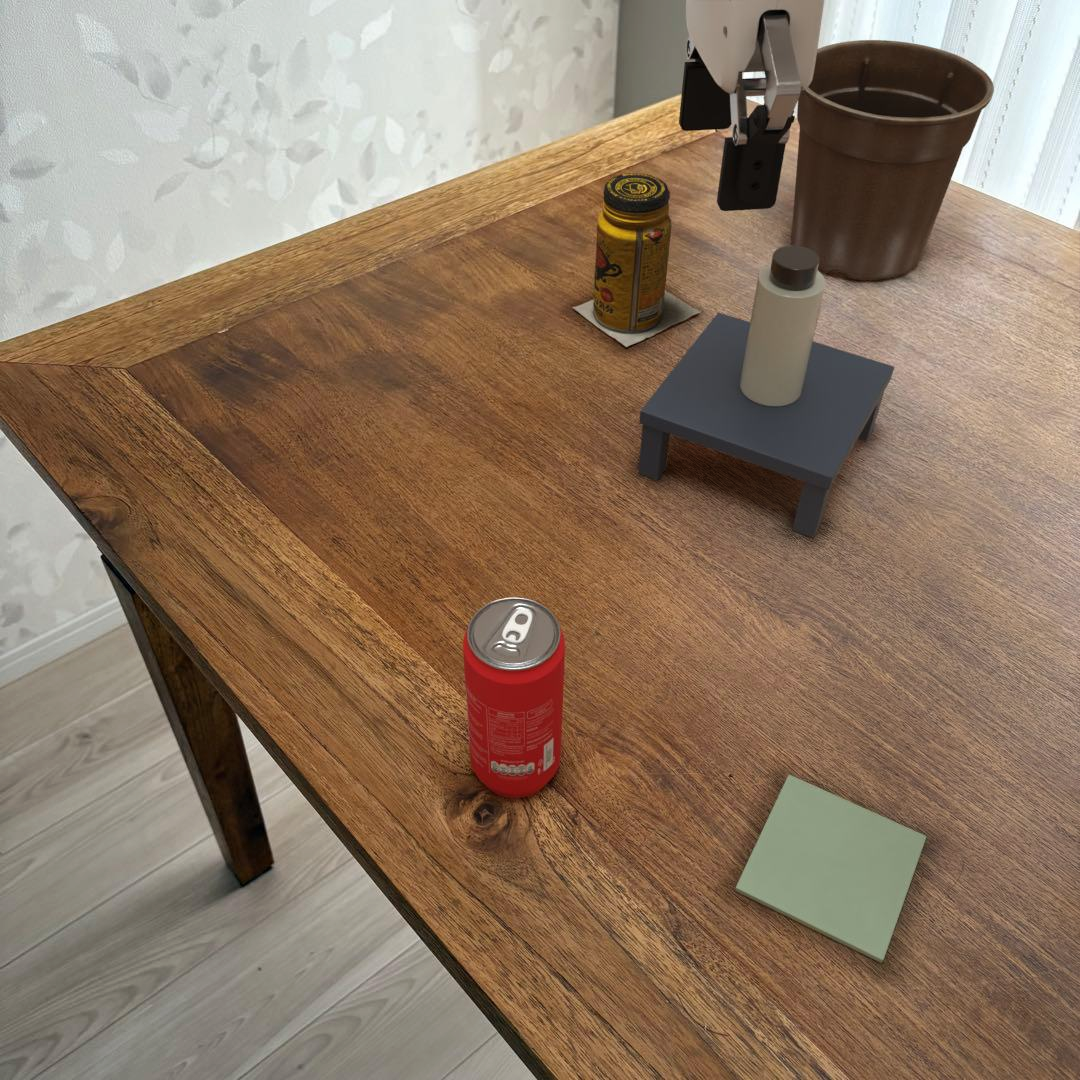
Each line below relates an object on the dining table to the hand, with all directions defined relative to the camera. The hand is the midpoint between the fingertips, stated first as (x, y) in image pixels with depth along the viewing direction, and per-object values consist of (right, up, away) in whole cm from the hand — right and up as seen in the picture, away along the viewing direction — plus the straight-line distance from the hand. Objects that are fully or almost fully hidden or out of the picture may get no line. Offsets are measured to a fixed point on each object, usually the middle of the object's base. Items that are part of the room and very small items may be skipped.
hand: (723, 165), depth 65 cm
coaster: (+5, -39, -5) cm, 40 cm away
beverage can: (-12, -35, 0) cm, 37 cm away
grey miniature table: (+6, -15, +19) cm, 25 cm away
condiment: (-2, -2, +32) cm, 32 cm away
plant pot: (+19, +6, +40) cm, 44 cm away
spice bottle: (+6, -11, +15) cm, 19 cm away
